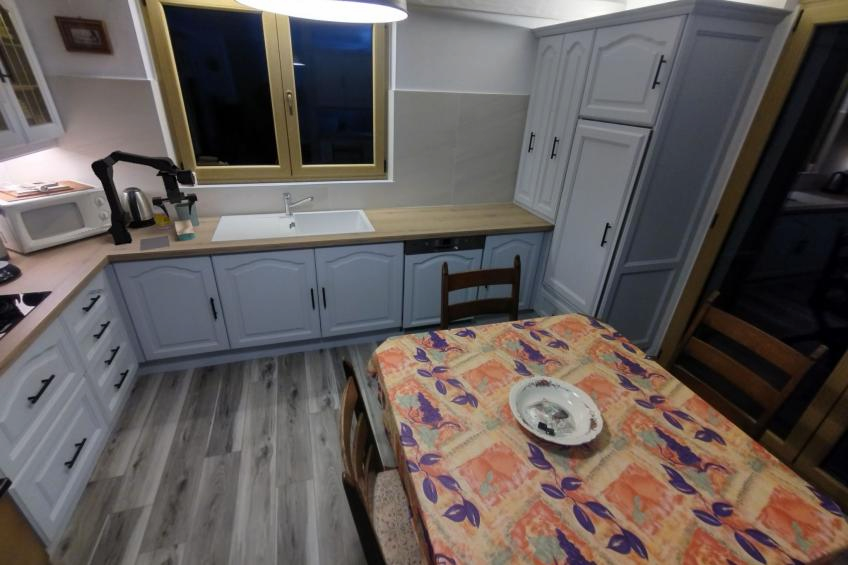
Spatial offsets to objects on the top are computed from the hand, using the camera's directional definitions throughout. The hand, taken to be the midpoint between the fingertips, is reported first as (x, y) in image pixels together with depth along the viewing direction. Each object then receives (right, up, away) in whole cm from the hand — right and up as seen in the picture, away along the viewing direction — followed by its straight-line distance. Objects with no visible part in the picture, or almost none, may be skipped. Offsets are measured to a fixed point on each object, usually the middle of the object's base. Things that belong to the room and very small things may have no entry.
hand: (179, 216), depth 192 cm
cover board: (+1, -6, +3) cm, 7 cm away
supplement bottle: (-20, -3, +19) cm, 28 cm away
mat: (-11, -14, -1) cm, 18 cm away
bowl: (0, -11, +5) cm, 12 cm away
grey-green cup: (-9, -1, +23) cm, 25 cm away
